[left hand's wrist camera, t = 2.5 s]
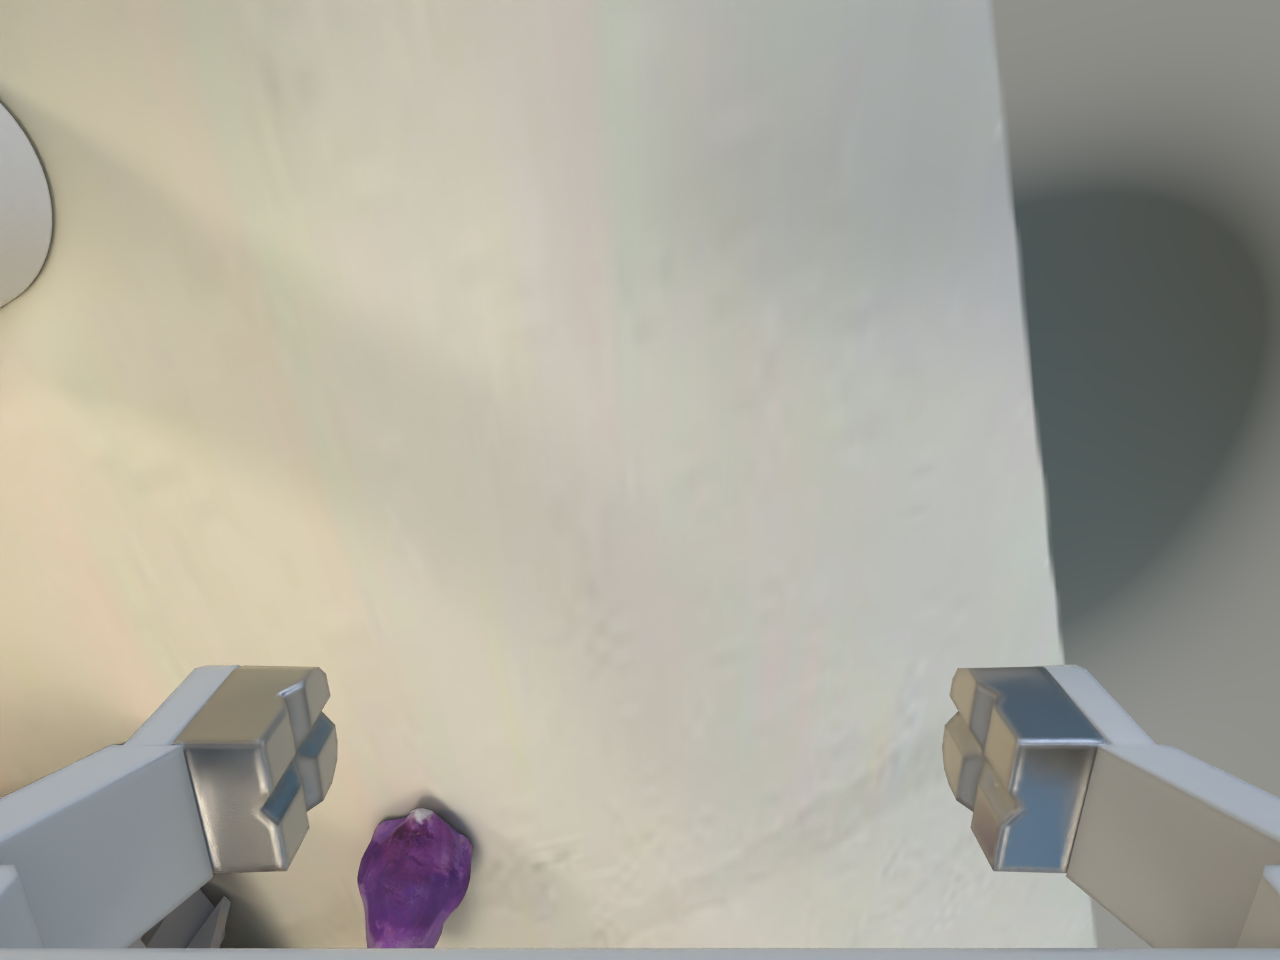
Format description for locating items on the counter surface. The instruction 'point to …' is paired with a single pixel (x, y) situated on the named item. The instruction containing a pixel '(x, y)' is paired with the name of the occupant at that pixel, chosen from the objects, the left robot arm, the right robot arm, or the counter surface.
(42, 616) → the counter surface
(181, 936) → the grey record crate
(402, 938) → the figurine
